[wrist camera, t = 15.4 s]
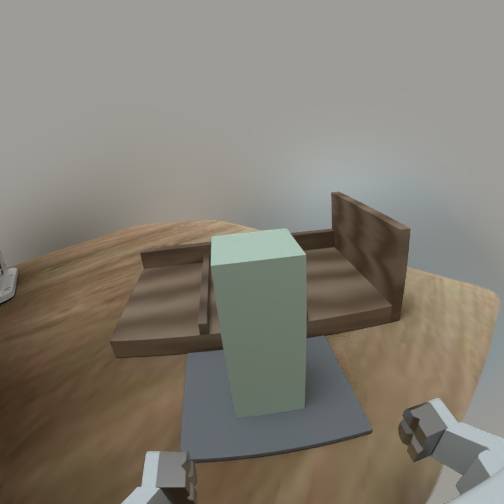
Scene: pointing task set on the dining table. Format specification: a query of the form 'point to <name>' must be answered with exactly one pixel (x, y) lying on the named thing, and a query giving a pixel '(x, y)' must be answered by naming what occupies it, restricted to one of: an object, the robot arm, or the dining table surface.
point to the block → (262, 319)
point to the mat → (270, 425)
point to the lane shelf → (317, 273)
